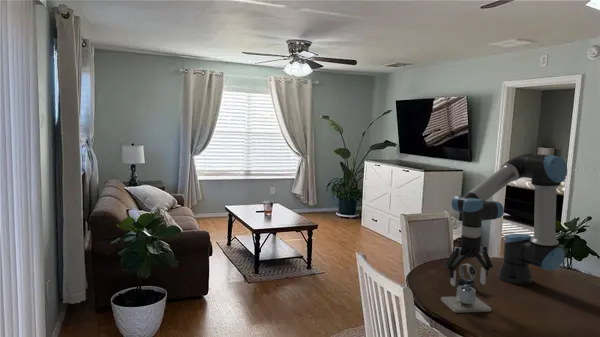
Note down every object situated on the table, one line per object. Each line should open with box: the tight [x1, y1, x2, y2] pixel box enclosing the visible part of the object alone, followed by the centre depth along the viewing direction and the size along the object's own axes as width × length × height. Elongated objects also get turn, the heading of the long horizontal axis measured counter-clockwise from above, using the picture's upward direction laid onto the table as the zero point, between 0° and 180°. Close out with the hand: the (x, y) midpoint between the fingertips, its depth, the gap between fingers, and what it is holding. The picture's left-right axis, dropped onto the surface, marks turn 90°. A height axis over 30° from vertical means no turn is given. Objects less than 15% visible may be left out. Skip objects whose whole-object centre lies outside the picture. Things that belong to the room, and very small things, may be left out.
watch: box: [457, 263, 477, 288], centre depth 197 cm, size 6×8×11 cm
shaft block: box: [440, 284, 492, 314], centre depth 176 cm, size 16×12×9 cm
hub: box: [455, 286, 477, 304], centre depth 176 cm, size 7×7×5 cm
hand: (467, 284), depth 176 cm, fingers open, 13 cm apart
